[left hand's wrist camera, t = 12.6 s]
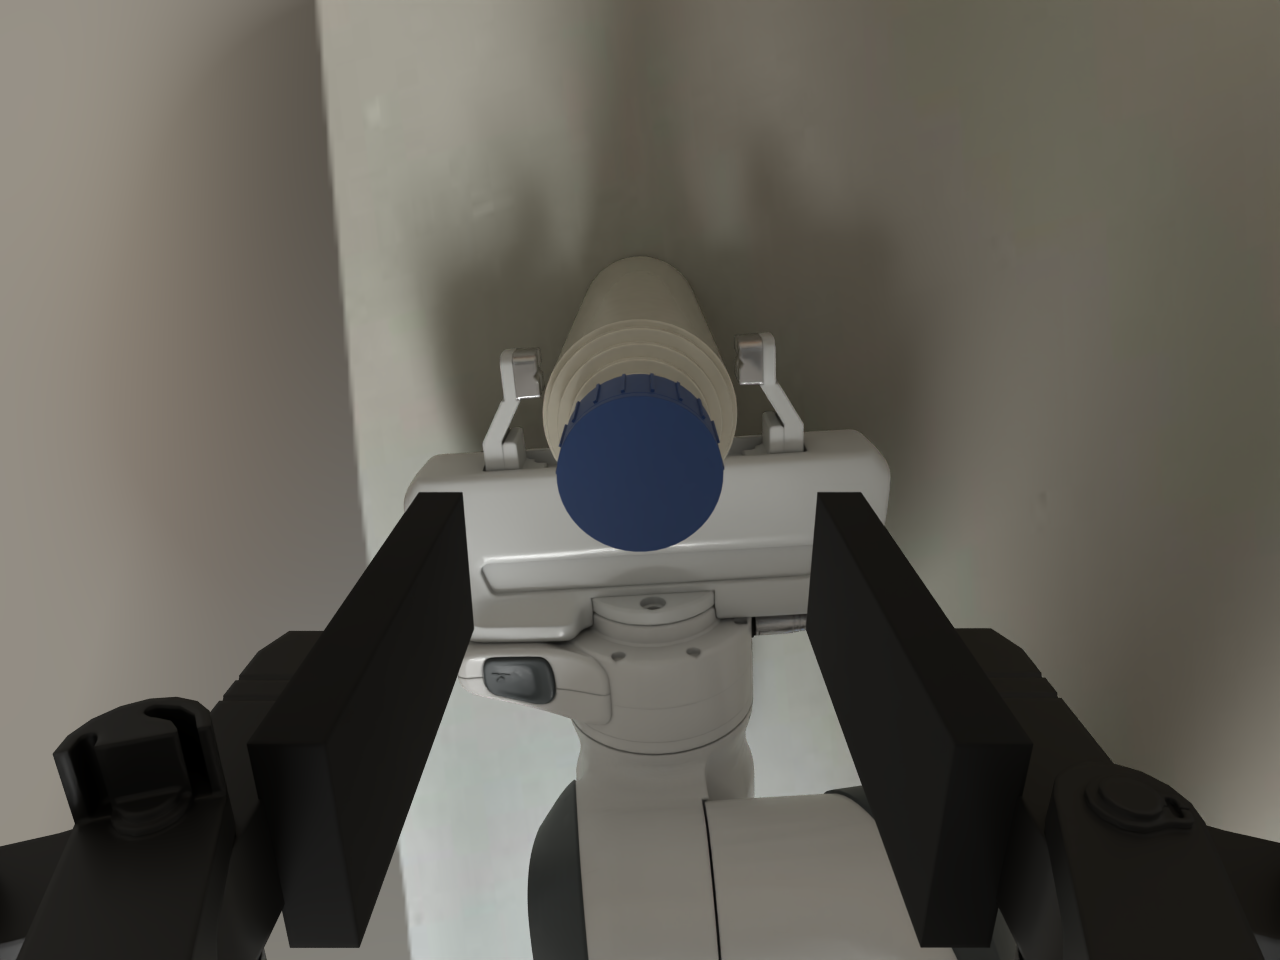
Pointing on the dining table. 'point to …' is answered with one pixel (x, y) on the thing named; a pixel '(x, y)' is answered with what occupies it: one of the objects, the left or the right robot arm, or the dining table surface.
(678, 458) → the cap
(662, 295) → the bottle
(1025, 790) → the left robot arm
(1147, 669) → the dining table surface
